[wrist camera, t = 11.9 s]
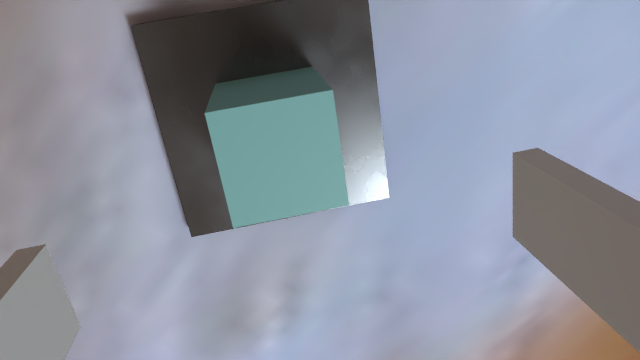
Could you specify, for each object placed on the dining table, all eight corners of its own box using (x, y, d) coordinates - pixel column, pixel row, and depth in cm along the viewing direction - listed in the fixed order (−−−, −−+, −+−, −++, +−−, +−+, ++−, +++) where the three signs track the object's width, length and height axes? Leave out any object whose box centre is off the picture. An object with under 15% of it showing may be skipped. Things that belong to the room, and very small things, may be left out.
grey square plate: (134, 24, 24) (98, 34, 19) (363, -14, 25) (397, -16, 20) (193, 230, 29) (179, 290, 23) (385, 192, 30) (418, 240, 24)
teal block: (215, 83, 25) (204, 113, 19) (312, 66, 26) (332, 89, 19) (236, 174, 27) (233, 228, 21) (326, 157, 28) (349, 204, 21)
